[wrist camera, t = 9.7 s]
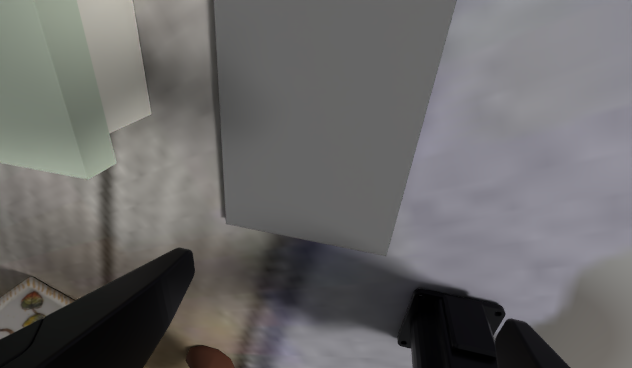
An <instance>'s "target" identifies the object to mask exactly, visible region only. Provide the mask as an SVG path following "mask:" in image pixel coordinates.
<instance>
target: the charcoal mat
mask: <svg viewBox="0 0 632 368" xmlns="http://www.w3.org/2000/svg"><path fill="white" fill-rule="evenodd" d="M456 1H457V0H214V15H215V33H216V51H217V69H218V87H219V105H220V123H221V141H222V159H223V176H224V194H225V212H226V224H229V225H234V226H239V227H244V228H249V229H254V230H259V231H264V232H269V233H274V234H278V235H283V236H288V237H293V238H298V239H303V240H308V241H313V242H318V243H323V244H328V245H333V246H338V247H343V248H348V249H353V250H358V251H363V252H368V253H373V254H378V255H383V256H386V255H387V252H388V248H389V245H390V241H391V237H392V234H393V230H394V226H395V223H396V219H397V215H398V212H399V208H400V205H401V201H402V197H403V194H404V190H405V186H406V183H407V179H408V175H409V172H410V168H411V165H412V161H413V157H414V154H415V150H416V146H417V143H418V139H419V135H420V132H421V128H422V125H423V121H424V117H425V114H426V110H427V106H428V103H429V99H430V95H431V92H432V88H433V85H434V81H435V77H436V74H437V70H438V66H439V63H440V59H441V55H442V52H443V48H444V45H445V41H446V37H447V34H448V30H449V26H450V23H451V19H452V15H453V12H454V8H455V5H456Z"/></svg>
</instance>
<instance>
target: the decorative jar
mask: <svg viewBox="0 0 632 368" xmlns="http://www.w3.org/2000/svg"><path fill="white" fill-rule="evenodd" d="M74 301H75V300H73V299H71V298H69V297H67V296H65V295H64V294H62V293H60V292H58V291H56V290H54V289H52V288H51V287H49V286H47V285H46V284H44V283H42V282H40V281H38V280H37V279H35V278H34V277H29V278H27V279H26V280H24V281H23V282H22V283H20V284H19V285H17V286H16V287H15V288H13V289H12V290H10V291H9V292H8V293H6V294H5V295H3V296H2V297H1V298H0V339H2V338H4V337H6V336H8V335H10V334H12V333H14V332H16V331H18V330H20V329H22V328H24V327H26V326H27V325H29V324H31V323H33V322H35V321H37V320H39V319H41V318H43V319H44V317H45V316H47V315H49V314H51V313H53V312H55V311H56V310H58V309H60V308H62V307H64V306H66V305H68V304H70V303H72V302H74Z"/></svg>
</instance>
